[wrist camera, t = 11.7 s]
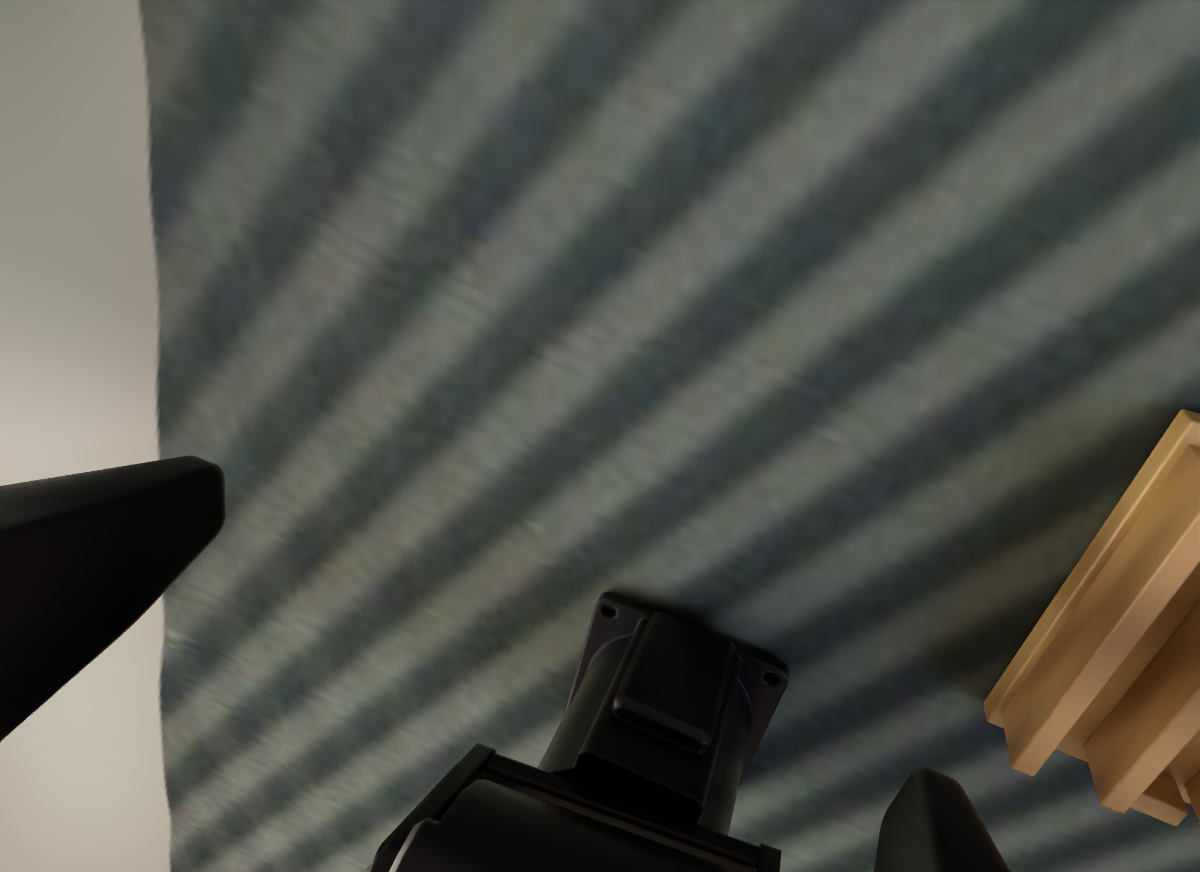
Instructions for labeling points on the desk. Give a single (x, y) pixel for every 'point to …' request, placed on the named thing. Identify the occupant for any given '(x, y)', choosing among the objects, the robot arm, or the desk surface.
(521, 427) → the desk surface
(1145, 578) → the dish rack
